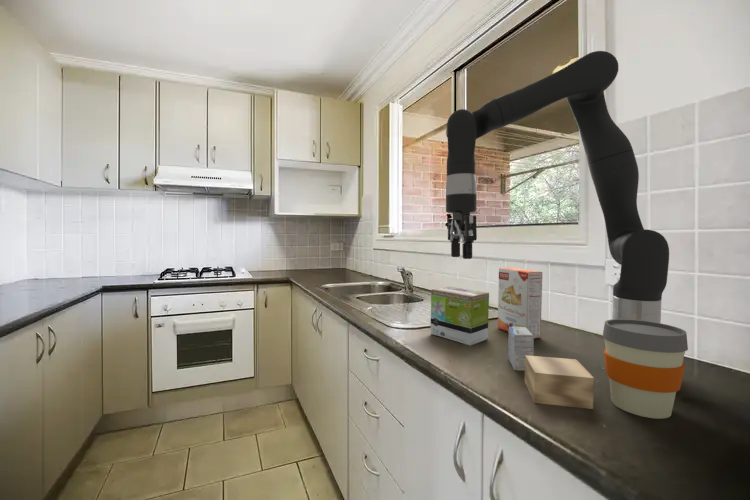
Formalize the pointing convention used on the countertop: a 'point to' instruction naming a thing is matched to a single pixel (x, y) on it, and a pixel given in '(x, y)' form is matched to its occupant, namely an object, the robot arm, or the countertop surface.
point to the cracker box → (520, 299)
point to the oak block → (559, 382)
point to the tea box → (460, 314)
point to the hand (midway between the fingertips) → (461, 257)
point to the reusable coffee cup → (644, 365)
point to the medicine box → (519, 346)
